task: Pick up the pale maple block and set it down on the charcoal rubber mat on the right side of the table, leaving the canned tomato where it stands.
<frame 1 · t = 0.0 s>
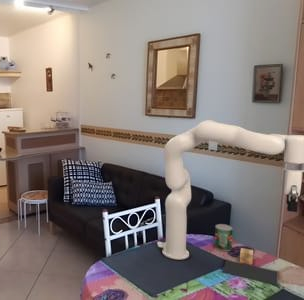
hand: (291, 207, 128), 31 cm above the table, tool pointing down, fingers open, 9 cm apart
canned tomato: (222, 247, 163), on the table
mat: (249, 272, 139), on the table
block: (246, 261, 149), on the table
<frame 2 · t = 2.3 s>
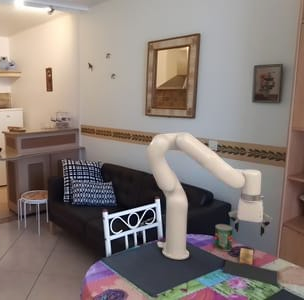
hand: (249, 232, 146), 14 cm above the table, tool pointing down, fingers open, 9 cm apart
nothing on the table moved.
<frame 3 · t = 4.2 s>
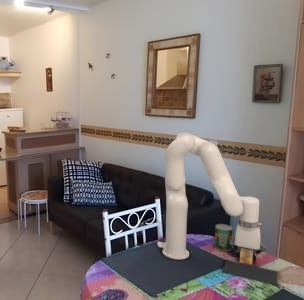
hand: (246, 260, 149), 0 cm above the table, tool pointing down, fingers closed on block, 5 cm apart
block: (246, 261, 149), on the table, touching gripper
everything else where it was.
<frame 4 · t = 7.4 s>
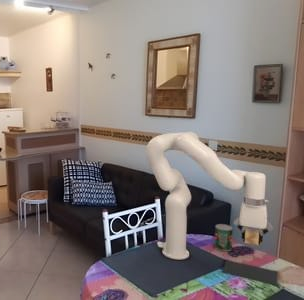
hand: (251, 241, 138), 14 cm above the table, tool pointing down, fingers closed on block, 5 cm apart
block: (251, 242, 138), point 14 cm above the table, touching gripper
everything else where it was.
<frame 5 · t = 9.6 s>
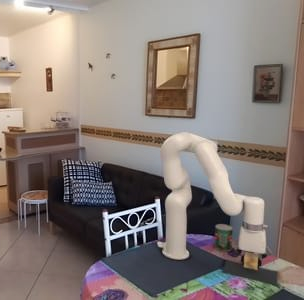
hand: (250, 265, 139), 3 cm above the table, tool pointing down, fingers closed on block, 5 cm apart
block: (250, 266, 139), point 3 cm above the table, touching gripper
everything else where it was.
when the fingers open (1 cm above the table, at t = 10.8 s): block stays where it is, resting on mat.
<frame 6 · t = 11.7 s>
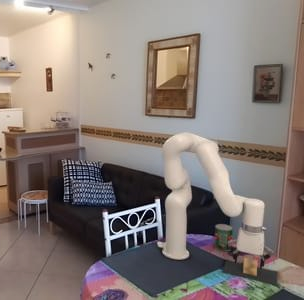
hand: (248, 264, 139), 3 cm above the table, tool pointing down, fingers open, 9 cm apart
block: (250, 271, 139), resting on mat
everything else where it was.
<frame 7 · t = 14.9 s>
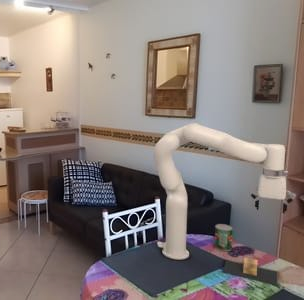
hand: (270, 210, 140), 26 cm above the table, tool pointing down, fingers open, 9 cm apart
nothing on the table moved.
at the end: block inside the target area on the mat (0.2 cm from its centre), point 0.2 cm above the mat's base; block tilted 0°; the gripper is holding nothing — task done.
